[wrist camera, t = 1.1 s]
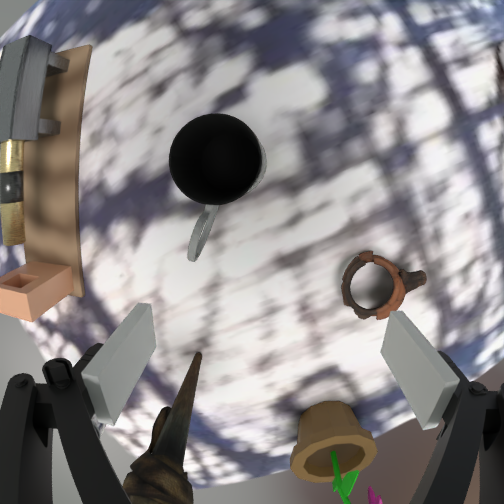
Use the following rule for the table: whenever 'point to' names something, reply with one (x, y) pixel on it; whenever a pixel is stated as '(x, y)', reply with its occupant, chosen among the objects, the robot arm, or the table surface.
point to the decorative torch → (166, 452)
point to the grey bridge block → (27, 88)
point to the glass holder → (215, 167)
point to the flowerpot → (333, 448)
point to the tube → (12, 192)
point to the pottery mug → (401, 285)
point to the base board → (57, 172)
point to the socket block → (34, 289)
